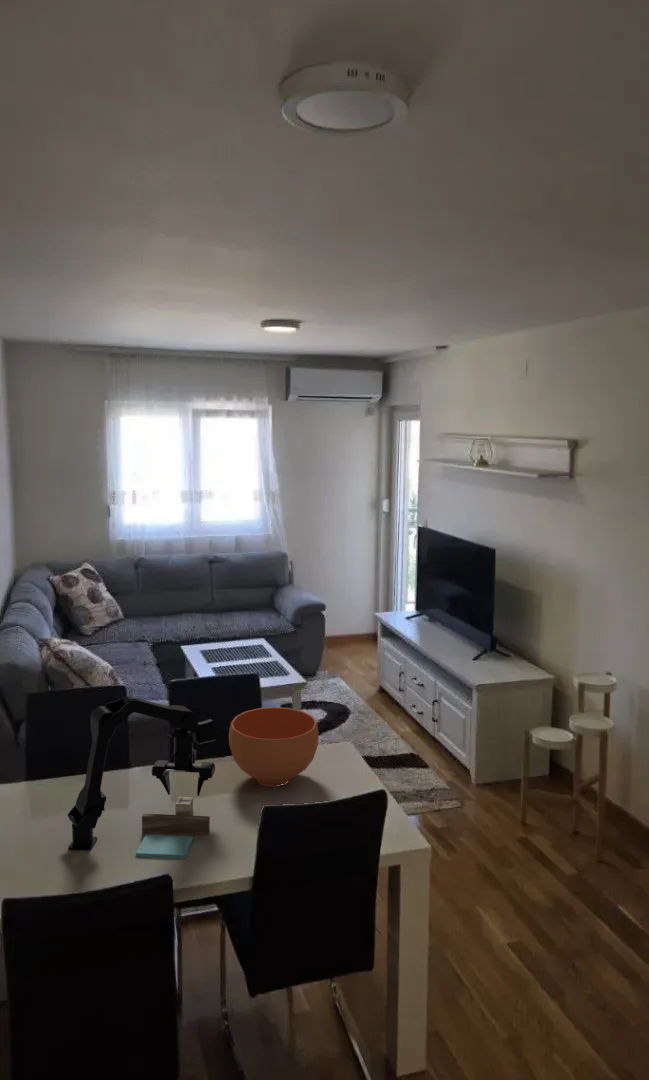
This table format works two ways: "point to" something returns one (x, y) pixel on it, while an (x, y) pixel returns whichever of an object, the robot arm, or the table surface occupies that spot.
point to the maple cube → (184, 806)
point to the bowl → (273, 743)
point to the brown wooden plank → (176, 824)
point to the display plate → (164, 846)
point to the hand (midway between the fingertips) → (183, 794)
